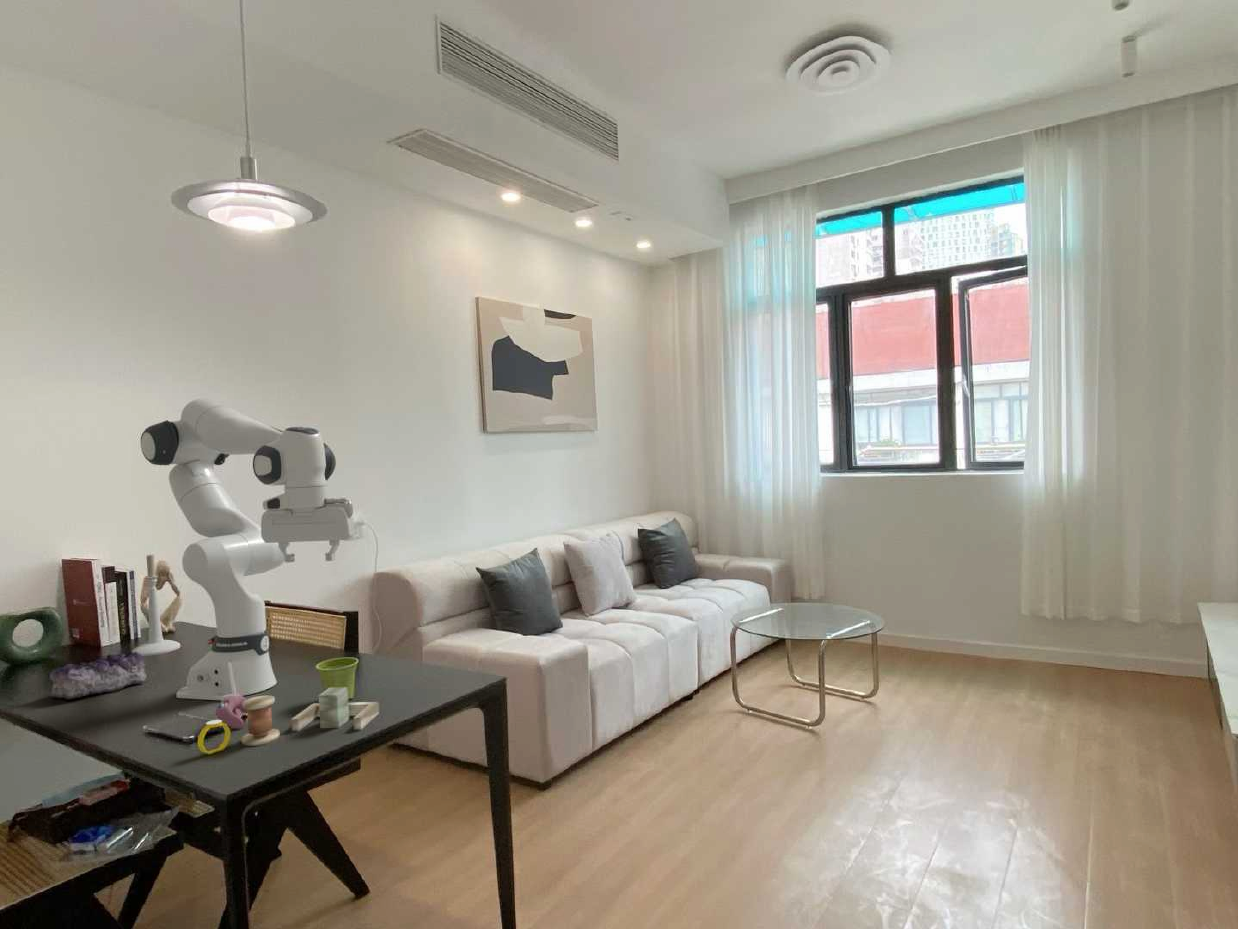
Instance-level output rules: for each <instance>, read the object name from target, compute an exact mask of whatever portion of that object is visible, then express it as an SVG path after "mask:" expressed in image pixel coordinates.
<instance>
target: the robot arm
mask: <svg viewBox="0 0 1238 929" xmlns="http://www.w3.org/2000/svg"><path fill="white" fill-rule="evenodd" d="M323 439H324V438H323V437H322V434H321V432H320V431H319V430H317V429H315V428H310V427H303V426H301V427H300V426H291V427H288V428H285V429H284V430H280V429H279V428H275V427H273V426H270V425H267V424H265V423H263V422H261V421H259V420H257V419H253V418H252V417H249V416H248V415H245V414H243V413H241V412H239V411H237V410H236V409H233V408H232V407H230V406H228V405H226V404H223V403H221V402H219V401H217V400H216V401H215V400H212V399H207V398H198V399H194V400H191V401H190V402H188V403H187V404H186V405H185V406H184V407H183V409H182V411H181V415H180V419H178V420H173V421H170V420H167V419H166V420H164V421H162V422H158V423H155V424H152V425H150V426H148V427H146V428H145V429H144V431H143V432H142V433H141V436H140V448H141V452H142V455H143V457H144V458H145V459H146V460H147V461H148V462H149V463H150V464H151V465H155V466H170V465H174V466H173V467H172V469H171V470H170V472H169V474H168V482H169V485H170V488H171V492H172V494H173V497H174V499H175V501H176V502H177V505H178V506H179V508H180V510H181V511H182V513H183V515H184V517H185V519H186V520H187V522H188V524H189V526H190V527H191V528H192V530H193V531H194V532H196V533H197V534H198V535H200V536H203V537H205V538H204V539H201V540H198V541H196V542H193V543H190V544H189V545H188V546H187V547H186V548H185V550H184V552H183V555H182V560H181V562H182V569H183V572H184V574H185V575H186V576H187V577H188V579H190V580H191V581H192V582H194V583H196V584H198V585H199V586H201V587H202V588H203V589H204V590H205V591H206V592H207V594H208V596H209V598H210V599H211V601H212V604H213V608H214V609H213V610H214V615H215V623H216V635H214V636H212V637H211V638H210V639H208V640H206V642H207V643H206V645H207V646H209V645H211V648H210V651H209V652H207V653H206V654H205V655H204V656H202V658H200V659H199V660H198V661H197V662H196V663H195V664H193V665H192V666H191V667H190V669H188V670H189V671H188V673H187V677H186V685H185V686H184V687H182V688H180V689H179V690H178V691H177V692H176V698H177V699H178V698H179V699H186V700H187V699H190V700H209V701H210V700H211V701H222V700H223V699H225V698H227V697H229V696H231V695H237V694H239V695H241V696H243V697H244V696H248V695H253V694H255V693H259V692H260V693H261V692H263V691H266V690H267V689H270V688H272V687H274V686H276V684H277V679H276V676H275V673H274V671H273V667H272V662H271V659H270V658H271V657H270V637H269V636H270V635H269V628H267V622H266V621H267V620H266V618H267V617H266V604H265V600H264V598H263V597H262V596H261V595H260V594H259V593H256V592H255V591H252V590H249V589H248V588H247V587H246V583H245V581H244V577H249V576H255V575H258V574H264V573H268V572H269V571H271V570H273V569H276V568H278V567H280V566H282V565H283V564H284V563H293V562H295V561H296V559H295V553H291V552H292V551H290V549H289V546H290V543H297V542H299V543H302V542H323V541H324V542H326V541H328V543H329V546H331V547H330V549H329V551H328V552H326V553H325V554H324V555H325V561H326V562H334V561H336V552H337V551H338V548H339V546H340V545H341V544H340V543H341V542H340V541H348V540H351V539H353V537H354V536H355V535H356V530H355V529H356V528H355V523H354V522H355V521H354V518H353V513H354V510H353V507H354V506H353V504H352V502H351V501H350V500H348V499H346V498H344V497H340V498H328V496H329V495H328V482H327V481H328V480H329V479H330V478H331V477H332V475H333V474H334V471H335V469H336V465H337V461H336V456H335V454H334V452H333V450H332V449H331V448H330V447H329V445H328V444H327V443H325V442H324V440H323ZM231 455H232V456H233V455H236V456H238V455H254V456H253V458H252V469H253V473H254V475H255V477H256V478H257V480H259V482H260V483H262V484H263V485H265V486H272V487H273V486H274V487H275V486H284V489H283V490H284V493H281V494H280V495H278V494H277V495H276V496H273V497H271V498H268V499H265V500H263V502H262V508H263V510H264V512H263V514H262V515H261V520H260V521H261V522H260V524H258V523H256V522H255V521H253V520H252V519H251V518H249V517H248V516H247V515H245V514H244V513H243V512H242V511H241V510H240V509H239V508H238V506H236V504H235V503H234V501H233V500H232V498H231V496H230V495H229V493H228V492H227V491H226V489H225V487H224V485H223V484H222V483H221V481H220V479H219V478H218V476H216V473H215V471H214V466H221V465H223V464H225V462H226V459H228V457H229V456H231Z"/></svg>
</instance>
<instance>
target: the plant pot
mask: <svg viewBox="0 0 1238 929" xmlns="http://www.w3.org/2000/svg"><path fill="white" fill-rule="evenodd" d="M358 663H359V659H358V658H356V657H349V656H348V657H337V658H331V659H327V660H324V661H322V662H319V663H317V664H316V665H315V669H316V670H317V671H318V675H319V676H320V681H321V685H322V689H323V692H324V691H326V690H327V689H328V688H337V687H347V690H348V701H349V700H350V699H353V698H354V695H355V694H354V691H355V680H356V679H355V677H356V676H355V675H356V670H357V664H358Z"/></svg>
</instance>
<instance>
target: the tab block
mask: <svg viewBox="0 0 1238 929" xmlns="http://www.w3.org/2000/svg"><path fill="white" fill-rule="evenodd" d="M318 703H319V709H320V717H319V720H320V722H319V723H320V725H319V726H320V729H339V728H341V727H342V726H343V725H344V724H345V723H347V722H348V721H349V720H350V716H349V707H348V703H349V700H348V690H347V687H337V688H328V689H327V690H326V691H324V690H323V692H321V693H320V694H319V695H318Z"/></svg>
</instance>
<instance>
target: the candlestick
mask: <svg viewBox="0 0 1238 929" xmlns="http://www.w3.org/2000/svg"><path fill="white" fill-rule="evenodd" d="M155 563H156V562H155V554H147V555H146V569H147V576H145V577H144V578H145V579H146V583H147V584H148V586H149V587H148V641H147V642H144V643H143V644H140V645H138V646H137V647H135V648H134V649H132V650H131V653H132V652H137V653H138V654H140V655H141V656H142V657H148V656H157V655H161V654H167V653H170V652H174V651H175V650H178V649H179V648H181V643H180V642H178V641H175V640H172V639H164V638H163V632H162V624H161V616H160V607H159V601H158V593H157V591H158V590H157V587H156V584H157V582H158V580H157V579H158V577H159V575H156V567H155V566H156V565H155Z"/></svg>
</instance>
